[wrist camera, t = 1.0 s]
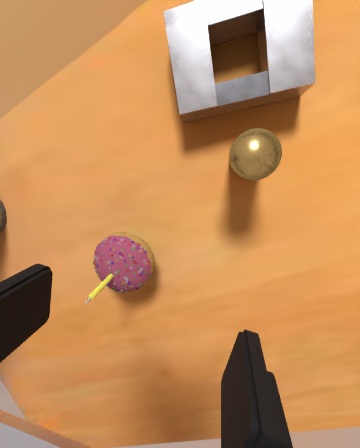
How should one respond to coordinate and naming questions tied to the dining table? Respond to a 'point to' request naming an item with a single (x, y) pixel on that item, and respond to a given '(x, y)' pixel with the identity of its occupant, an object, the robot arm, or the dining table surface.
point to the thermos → (2, 216)
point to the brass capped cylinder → (255, 154)
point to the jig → (231, 29)
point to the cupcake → (122, 263)
